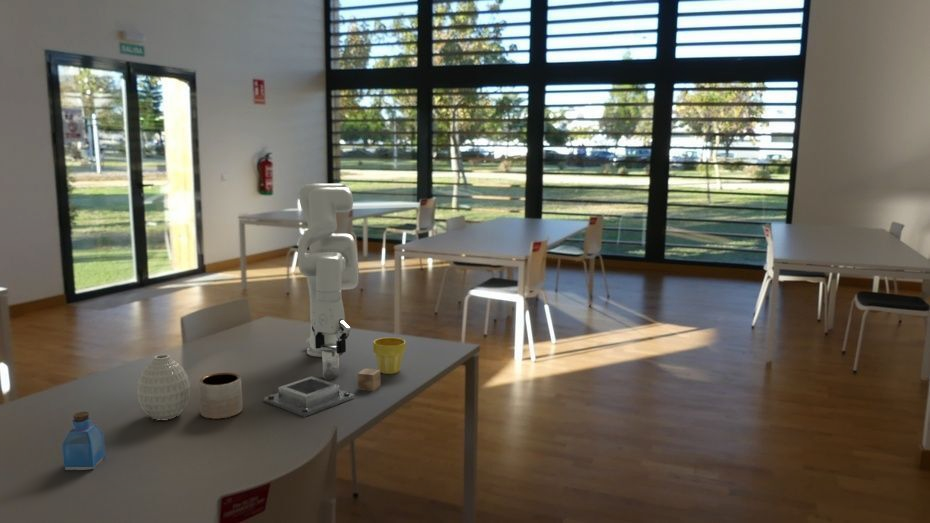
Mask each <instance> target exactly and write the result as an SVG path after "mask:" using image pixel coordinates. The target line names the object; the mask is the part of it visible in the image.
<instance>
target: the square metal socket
mask: <svg viewBox="0 0 930 523" xmlns="http://www.w3.org/2000/svg"><path fill="white" fill-rule="evenodd" d="M262 398H263V400H262V401H263V402H264V401H266V402H265V403H267V402H268V403H267V404H269V403H271V404H270V405H272V404H273V405H272V406H275V407H277V408H280V409H283V410H285V411H288V412H291V413H294V414H295V415H299V416H301V417H304V418H306V417H308V416H311V415H314V414H317V413H319V412H321V411H325V410H328V409H329V408H331V407H335V406H337V405H339V404H342V403H345V402H347V401H350V400H353V399H355V394H353V393H352V392H351V393H350V392H349V391H344V390H342V389H341V390H340V385H339V384H336V383H334V382H330V381H329V380H328V381H327V380H325V379H321V378H318V377H315V376H312V375H311V376H308V377H305V378H302V379H299V380H296V381H293V382H290V383H287V384H285V385H281V386H279V387H278V392H277V393H274V394H269V395H267V396H265V397H262Z"/></svg>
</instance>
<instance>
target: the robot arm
mask: <svg viewBox="0 0 930 523" xmlns="http://www.w3.org/2000/svg"><path fill="white" fill-rule="evenodd" d="M298 192H299V193H298V197H299V198H298V199H299V203H300V204H299V205H300V208H301V211H302V213H303V216H304V218H305V220H306V223H307V230H306V231H304V233H303V235H302V236H301V237H300V240H299V243H298V246H297V247H298V248H297V259H298V260H297V262H298V269H299V272H300V274H301V275H302V276H304V277H306V281H307V287H308V294H309V312H310V313H309V315H310V321H309V323H310V336H309V337H308V338H307V339H305V342H306V343H307V344H309V347H308V348H306V354H307V355H308V356H311V357H316V358H322V350H321V345H324V344H329V343H334V344H336V345H337V354H339V355H341V354H343V353H346V350H347V347H346V340H348V337H349V336H350V331H351V329H352V328H351V327H350V326H349V325H348V324H347V323H346V315H345V309H344V307H345V306H344V302H343V299H342V297H343V296H342V290H353V289H356V288H357V286H358V285H359V266H358V254H357V245H356V241H355V238H354V236H353V235H352V234H350V233H339V232H338V233H336V231H337V229H338V223H337V213H349V212H351V211H352V210H353V207H354V206H353V205H354V198H353V197H354V196H353V193H352V190H351V188H350V187H349V185H348V184H347V183H338V182H337V183H336V182H334V183H327V182H326V183H325V182H324V183H322V182H321V183H320V182H319V183H318V182H315V183H307V184H304V185H303V186H301V187H300V188H299V191H298ZM308 249H309V252H308V251H307V250H308Z"/></svg>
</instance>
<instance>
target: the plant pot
mask: <svg viewBox="0 0 930 523" xmlns="http://www.w3.org/2000/svg"><path fill="white" fill-rule="evenodd" d="M406 344H407V343H406V340H405V339H403V338H399V337H389V336H388V337H387V336H385V337H381V338H376V339H374V340H373V343H372V348H373V350H372V351H373V353H374V354H375V357H376V358H375V359H376V361H377V362H376V363H377V368H378V370H380V374H381V373H382V374H389V375H390V374H391V375H393V374H397V373H398V372H400V370H401V367H402V366H401V365H402V361H403V357H404V354H405V352H406V348H407V347H406Z"/></svg>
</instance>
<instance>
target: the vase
mask: <svg viewBox="0 0 930 523" xmlns="http://www.w3.org/2000/svg"><path fill="white" fill-rule="evenodd" d="M136 390H137V391H136V392H137V399H138V402H139V404H140V407H141V408H142V410H143V411H144V412H145V413H146V415H147V416H149V418H151V419H153V420H154V419H160V420H162V419H170V418H173V417H176V416H177V417H178V416H179V415H180V414H181V413H182V412H183V411H184V409H185V407H186V406H187V404H188V401H189V398H190V395H191V383H190V378H189V376H188V374H187V372H186V370H185V369H184V367H183V366H182V365H181V364H179V363H178V362H177V361H175V359H173V358H172V357H171V355H169V354H166V353H165V354H164V353H163V354H157V355H155V356H153V357H152V360H151V361H150V362H149V363H148V364H147V366H145V367H144V369H143V370H142V372H141V374H140V376H139V378H138V381H137V388H136ZM177 417H176V418H177Z"/></svg>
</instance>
